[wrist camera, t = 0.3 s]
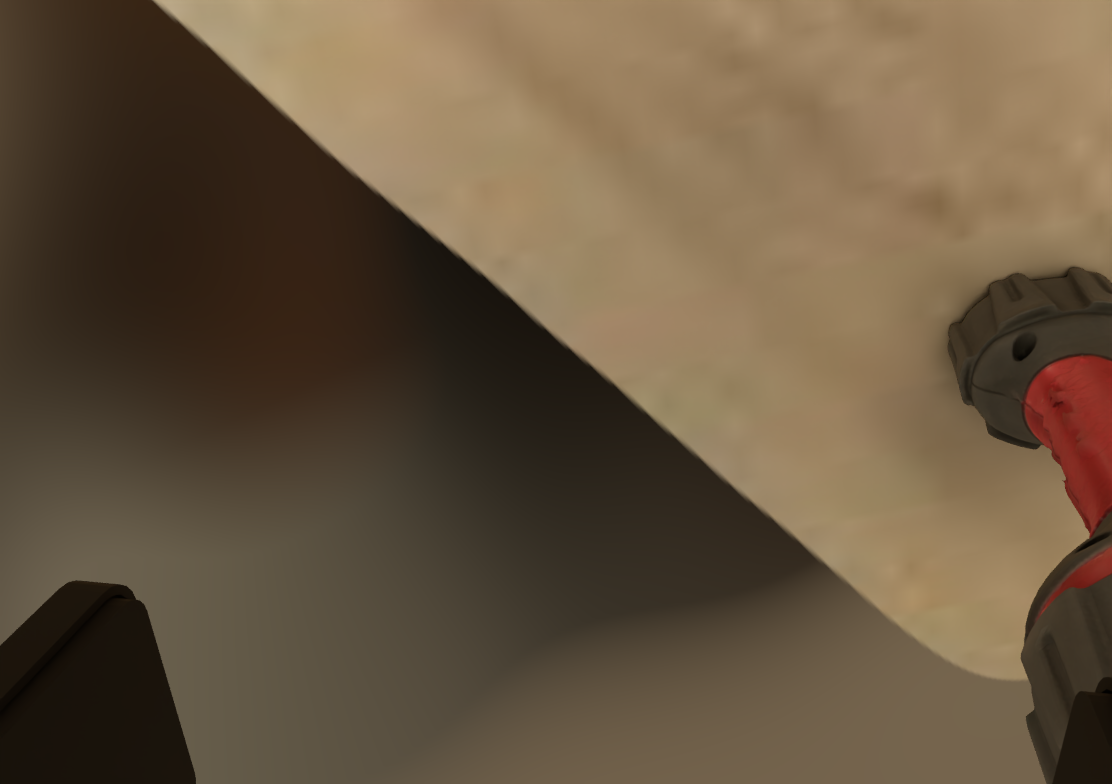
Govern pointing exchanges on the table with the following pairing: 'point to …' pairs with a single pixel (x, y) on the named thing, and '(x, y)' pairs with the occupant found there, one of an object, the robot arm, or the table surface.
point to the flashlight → (1077, 445)
